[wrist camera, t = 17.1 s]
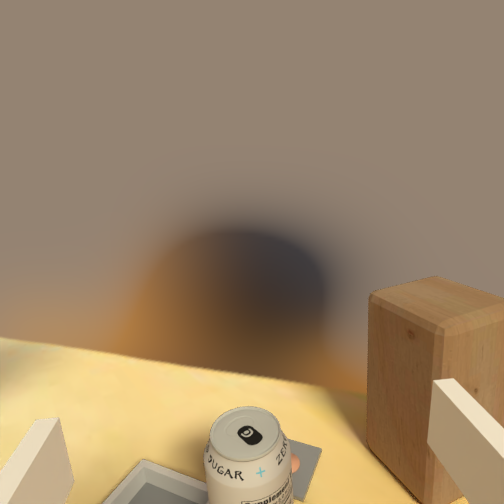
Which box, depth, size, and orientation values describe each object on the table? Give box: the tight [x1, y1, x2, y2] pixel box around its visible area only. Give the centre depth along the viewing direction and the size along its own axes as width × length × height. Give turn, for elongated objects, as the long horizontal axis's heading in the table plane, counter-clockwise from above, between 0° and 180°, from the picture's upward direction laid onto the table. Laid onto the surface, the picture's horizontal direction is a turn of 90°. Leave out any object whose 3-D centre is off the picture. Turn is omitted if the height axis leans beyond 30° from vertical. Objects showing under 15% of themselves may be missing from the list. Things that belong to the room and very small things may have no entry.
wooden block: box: [367, 276, 504, 504], centre depth 38 cm, size 10×10×20 cm
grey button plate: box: [288, 439, 322, 502], centre depth 43 cm, size 12×7×1 cm, turn 65°
